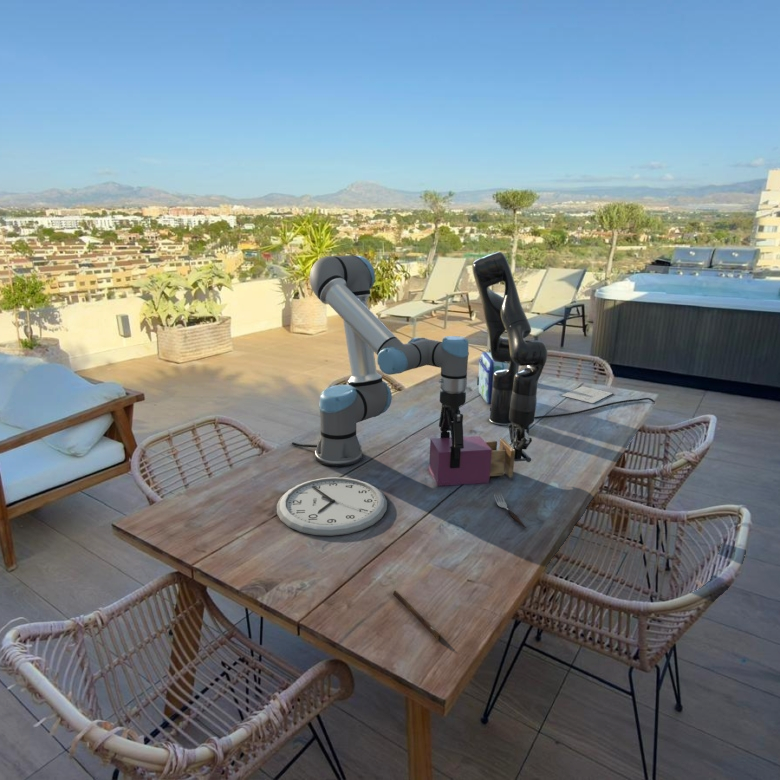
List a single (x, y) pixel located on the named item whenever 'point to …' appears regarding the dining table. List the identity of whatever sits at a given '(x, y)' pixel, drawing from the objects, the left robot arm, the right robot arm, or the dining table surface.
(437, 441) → the magenta rectangular box
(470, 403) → the dining table surface
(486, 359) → the lunch box
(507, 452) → the drawer
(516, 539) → the dining table surface
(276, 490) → the dining table surface
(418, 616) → the brown thin rod
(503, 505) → the fork
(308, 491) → the wall clock
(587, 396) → the invitation card
